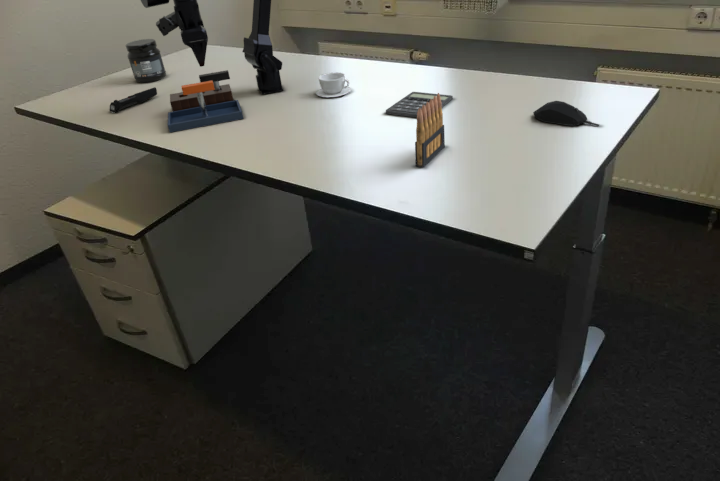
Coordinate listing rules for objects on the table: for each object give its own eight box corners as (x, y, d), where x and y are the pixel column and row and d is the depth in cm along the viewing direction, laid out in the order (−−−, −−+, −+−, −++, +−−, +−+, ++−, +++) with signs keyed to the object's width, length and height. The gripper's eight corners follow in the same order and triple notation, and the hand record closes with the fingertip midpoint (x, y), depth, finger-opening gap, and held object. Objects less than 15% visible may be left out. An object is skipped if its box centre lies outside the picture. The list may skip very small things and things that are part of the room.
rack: (232, 99, 159) (229, 83, 156) (235, 106, 153) (231, 90, 151) (174, 109, 156) (170, 94, 153) (174, 117, 150) (169, 101, 147)
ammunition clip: (437, 145, 118) (436, 91, 112) (445, 146, 117) (444, 91, 111) (415, 166, 111) (413, 109, 104) (423, 167, 110) (421, 110, 103)
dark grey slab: (234, 101, 157) (227, 70, 152) (235, 103, 155) (228, 71, 150) (206, 106, 155) (198, 75, 150) (207, 108, 154) (199, 76, 149)
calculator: (385, 109, 136) (412, 90, 147) (385, 113, 137) (413, 94, 147) (427, 115, 131) (453, 94, 141) (427, 118, 131) (453, 98, 142)
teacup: (310, 98, 153) (307, 81, 150) (325, 86, 161) (323, 70, 158) (342, 99, 149) (341, 82, 147) (356, 87, 157) (355, 71, 154)
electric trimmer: (161, 97, 167) (158, 87, 166) (116, 113, 158) (112, 103, 156) (154, 96, 170) (151, 85, 168) (109, 111, 160) (105, 101, 158)
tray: (239, 106, 153) (237, 99, 152) (243, 118, 144) (241, 111, 143) (170, 119, 149) (167, 112, 148) (169, 132, 140) (167, 125, 139)
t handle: (220, 113, 148) (212, 80, 143) (220, 115, 146) (212, 82, 141) (190, 118, 146) (181, 85, 141) (190, 121, 145) (181, 87, 140)
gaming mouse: (593, 131, 117) (596, 113, 115) (528, 119, 125) (529, 102, 123) (604, 121, 121) (607, 103, 118) (540, 110, 129) (542, 94, 127)
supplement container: (154, 72, 193) (144, 37, 186) (173, 75, 187) (163, 39, 180) (129, 81, 186) (117, 45, 179) (147, 85, 180) (136, 47, 174)
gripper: (152, -1, 144) (170, 59, 153) (151, 10, 129) (171, 76, 138) (195, -7, 146) (210, 52, 155) (199, 3, 131) (215, 68, 140)
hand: (201, 62), depth 147 cm, fingers open, 9 cm apart
